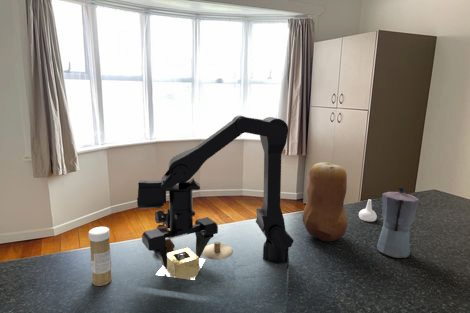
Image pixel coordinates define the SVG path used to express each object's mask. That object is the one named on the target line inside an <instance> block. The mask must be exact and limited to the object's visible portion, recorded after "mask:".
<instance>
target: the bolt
mask: <svg viewBox="0 0 470 313" xmlns="http://www.w3.org/2000/svg"><path fill="white" fill-rule="evenodd" d="M155 229H159V230H160V231H161V232H162V233H163V232H167V231H170V229H169V228H167V227H166V225H163V224H159V225H157V227H156V228H155ZM165 247H166V248H167V253H170V252H173V251H175V248H176V247H175V244H174V242H173V240H172V239H168V240H166V244H165ZM156 255H158V253H156Z"/></svg>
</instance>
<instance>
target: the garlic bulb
mask: <svg viewBox="0 0 470 313" xmlns="http://www.w3.org/2000/svg"><path fill="white" fill-rule="evenodd" d="M372 208H373V207H372V199H369V198H368V199H367V203H366V206H365V208H363V209H361V210H360V211H359V212H358V217H359V219H360V220H361V221H365V222H370V223H372V222H375V221H376V220H377V217H378V216H377V213H376V212H375V211H374V210H373V209H372Z"/></svg>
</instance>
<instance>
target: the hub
mask: <svg viewBox="0 0 470 313" xmlns="http://www.w3.org/2000/svg"><path fill="white" fill-rule="evenodd" d="M183 259H186V254H185V253H184V252H181V253H178V261H179V260H183ZM205 262H206V259H205V258H201V257H200V258H199V269H196V270H193V271H190V272H187V273H184V274H181V275H178V276H175V275H174V274H173V273H172V272H171V271H170V269H169V268H168V267H167V269H165V268H164V267H163V265H162V266H161V267H160V268H159V270H158V271H157V272H156V274H155V276H161V277H168V278H175V279H182V280H190V281H195V280H196V277H197V276H198V275H199V272H200V270H201V269H202V268H203V264H204V263H205Z"/></svg>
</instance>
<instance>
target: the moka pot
mask: <svg viewBox="0 0 470 313" xmlns="http://www.w3.org/2000/svg"><path fill="white" fill-rule="evenodd" d="M405 189H406V188H405V187H403V186H399V187H398V191H387V192H383V193H382V194H381V195H382V196H381V198H382V200H381V202H382V205H381V206H382V208H381V210H382V212H381V213H382V219H383V221H382V222H383V225H382V229H381V231H380V235H379V237H378V238H379V239H378V241H377V245H376V250H377V251H378V252H380V253H382V254H384V255H385V256H388V257H392V258H397V259H403V258H404V259H406V258H408V257H410V253H411V252H410V246H411V245H410V242H411V241H410V240H411V239H410V236H411V235H410V230H411V225H412V224H413V222H414V219H415V217H416V216H415V215H416V213H417V210H418V207H419V204H420V199H419V198H417V197H416V196H414V195H411V194H408V193H406V192H404V191H405Z"/></svg>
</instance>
